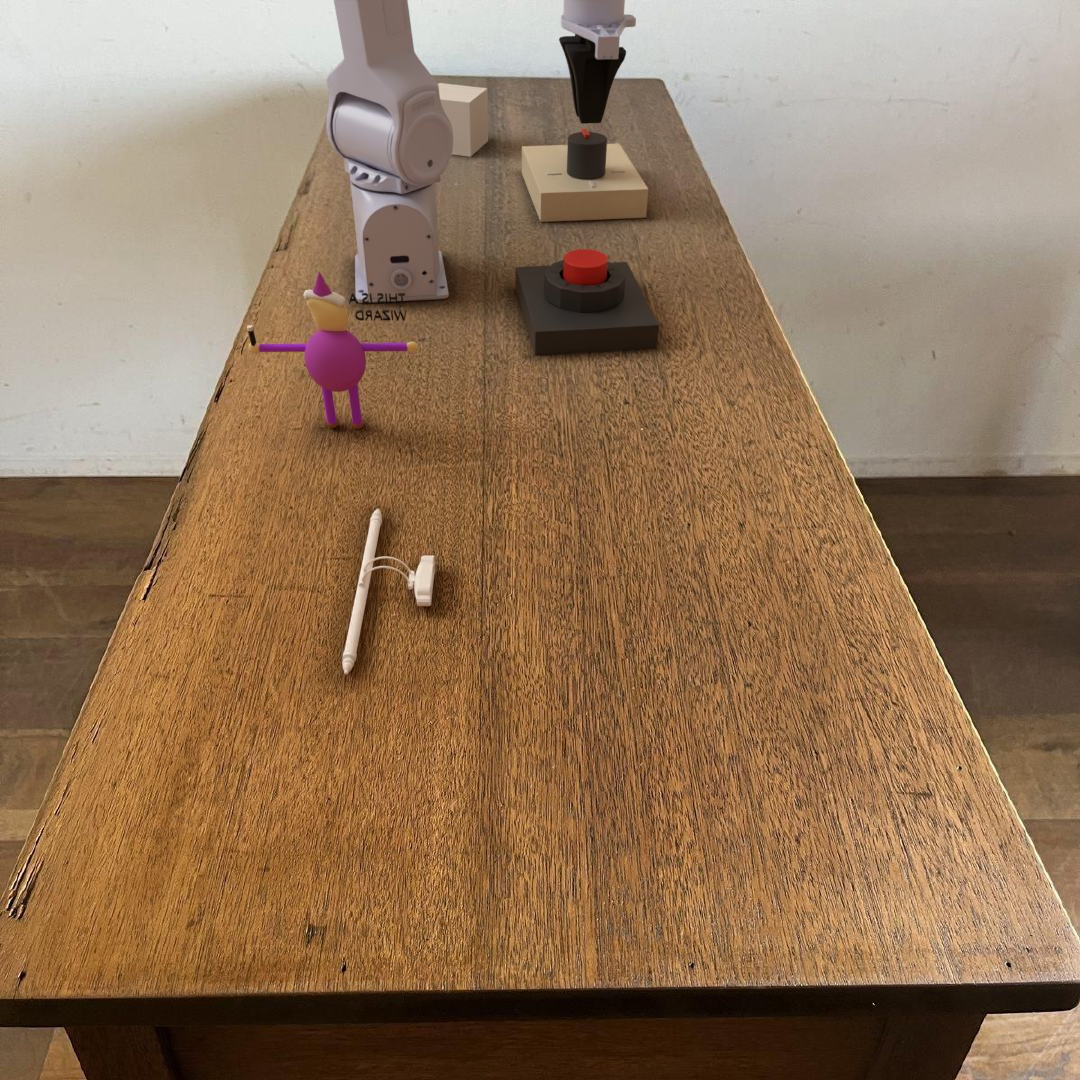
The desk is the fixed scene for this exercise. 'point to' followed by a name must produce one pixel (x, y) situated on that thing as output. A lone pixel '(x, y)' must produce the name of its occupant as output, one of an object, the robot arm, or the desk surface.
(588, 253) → the power button
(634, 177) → the panel
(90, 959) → the desk surface
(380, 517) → the picture light
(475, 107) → the beige cube
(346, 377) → the wizard figurine
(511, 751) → the desk surface
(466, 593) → the desk surface
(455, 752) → the desk surface
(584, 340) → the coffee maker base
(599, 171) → the warmer dial
